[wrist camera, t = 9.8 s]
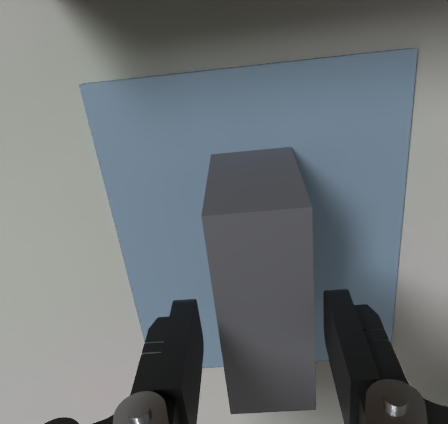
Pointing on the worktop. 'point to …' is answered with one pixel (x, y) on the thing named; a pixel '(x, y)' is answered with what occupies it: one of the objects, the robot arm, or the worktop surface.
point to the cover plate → (259, 114)
